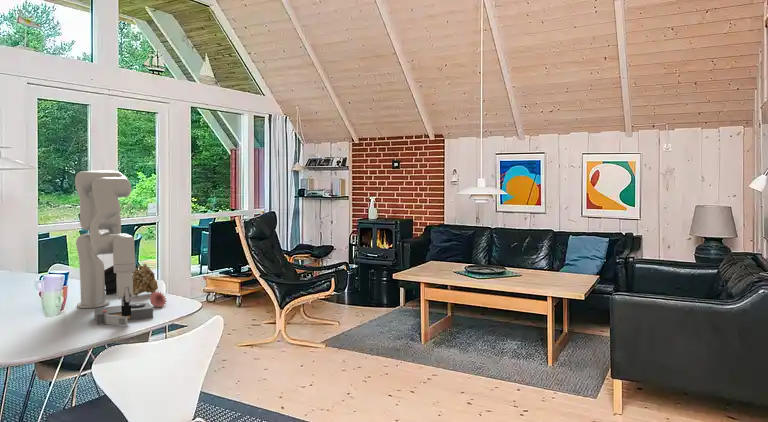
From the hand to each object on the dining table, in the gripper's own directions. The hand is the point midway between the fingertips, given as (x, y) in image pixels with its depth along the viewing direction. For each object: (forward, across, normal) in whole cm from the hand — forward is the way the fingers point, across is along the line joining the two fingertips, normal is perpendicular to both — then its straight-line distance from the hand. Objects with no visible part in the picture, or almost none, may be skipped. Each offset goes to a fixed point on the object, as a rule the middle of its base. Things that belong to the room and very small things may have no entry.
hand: (126, 315), depth 216 cm
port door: (+3, +1, -4) cm, 5 cm away
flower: (+3, -25, +15) cm, 29 cm away
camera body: (+3, -11, 0) cm, 11 cm away
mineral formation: (+3, -54, +14) cm, 55 cm away
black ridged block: (+3, -65, +2) cm, 65 cm away
